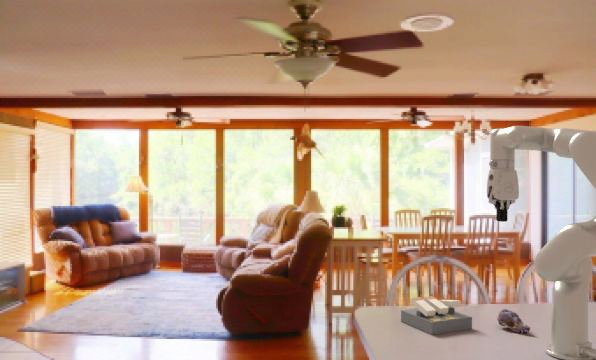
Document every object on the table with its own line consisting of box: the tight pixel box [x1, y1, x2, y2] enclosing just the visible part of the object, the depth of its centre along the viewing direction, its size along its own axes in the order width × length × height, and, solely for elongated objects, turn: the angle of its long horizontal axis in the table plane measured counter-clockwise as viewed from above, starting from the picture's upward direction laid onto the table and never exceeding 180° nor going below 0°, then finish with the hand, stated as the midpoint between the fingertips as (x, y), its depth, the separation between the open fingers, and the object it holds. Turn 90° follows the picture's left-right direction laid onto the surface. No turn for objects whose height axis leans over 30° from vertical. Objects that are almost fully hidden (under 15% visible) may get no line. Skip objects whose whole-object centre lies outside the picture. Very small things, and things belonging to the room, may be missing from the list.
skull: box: [496, 308, 531, 334], centre depth 176 cm, size 12×8×6 cm, turn 14°
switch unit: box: [400, 307, 473, 336], centre depth 181 cm, size 17×17×5 cm
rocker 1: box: [410, 296, 436, 316], centre depth 179 cm, size 9×4×2 cm, turn 24°
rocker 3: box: [437, 298, 462, 308], centre depth 184 cm, size 9×4×2 cm, turn 24°
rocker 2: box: [423, 295, 449, 314], centre depth 181 cm, size 9×4×2 cm, turn 24°
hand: (501, 221), depth 172 cm, fingers closed
